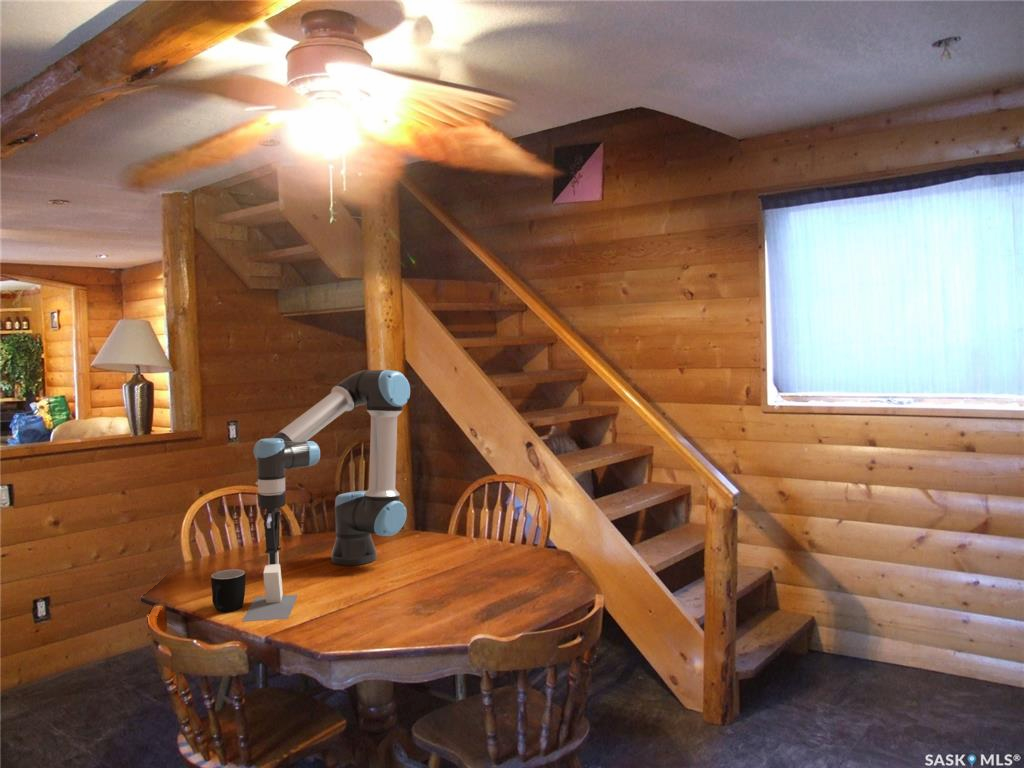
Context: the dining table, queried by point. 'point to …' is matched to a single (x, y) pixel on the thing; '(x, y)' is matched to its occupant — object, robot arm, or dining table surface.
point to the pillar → (273, 583)
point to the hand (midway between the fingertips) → (273, 574)
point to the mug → (228, 590)
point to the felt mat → (270, 609)
